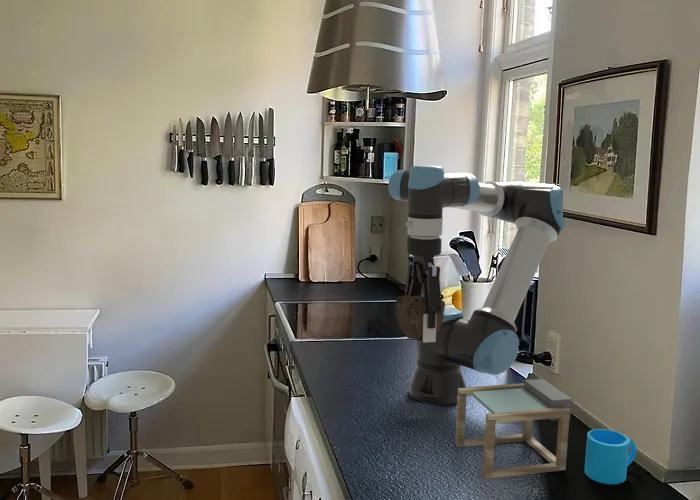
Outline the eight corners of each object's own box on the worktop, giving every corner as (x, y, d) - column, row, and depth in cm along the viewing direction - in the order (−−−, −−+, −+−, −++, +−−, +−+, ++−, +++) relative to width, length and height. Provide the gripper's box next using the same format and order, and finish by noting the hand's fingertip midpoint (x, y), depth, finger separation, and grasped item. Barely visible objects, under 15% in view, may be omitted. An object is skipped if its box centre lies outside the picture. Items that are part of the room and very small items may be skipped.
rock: (436, 308, 162) (459, 292, 154) (439, 349, 157) (462, 335, 149) (389, 299, 157) (410, 283, 149) (390, 342, 153) (412, 327, 144)
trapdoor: (471, 403, 151) (472, 384, 150) (541, 397, 155) (542, 379, 154) (495, 425, 140) (496, 405, 139) (570, 418, 144) (571, 398, 143)
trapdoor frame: (455, 444, 154) (457, 388, 152) (527, 437, 158) (531, 382, 156) (485, 478, 139) (489, 416, 137) (565, 470, 143) (570, 409, 141)
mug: (604, 487, 136) (607, 449, 135) (575, 469, 144) (578, 432, 142) (649, 476, 141) (652, 439, 140) (619, 459, 149) (622, 423, 147)
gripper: (392, 229, 160) (390, 322, 164) (425, 245, 139) (422, 351, 143) (423, 229, 162) (420, 321, 166) (460, 244, 141) (455, 349, 145)
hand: (421, 335), depth 154 cm, fingers closed on rock, 9 cm apart
